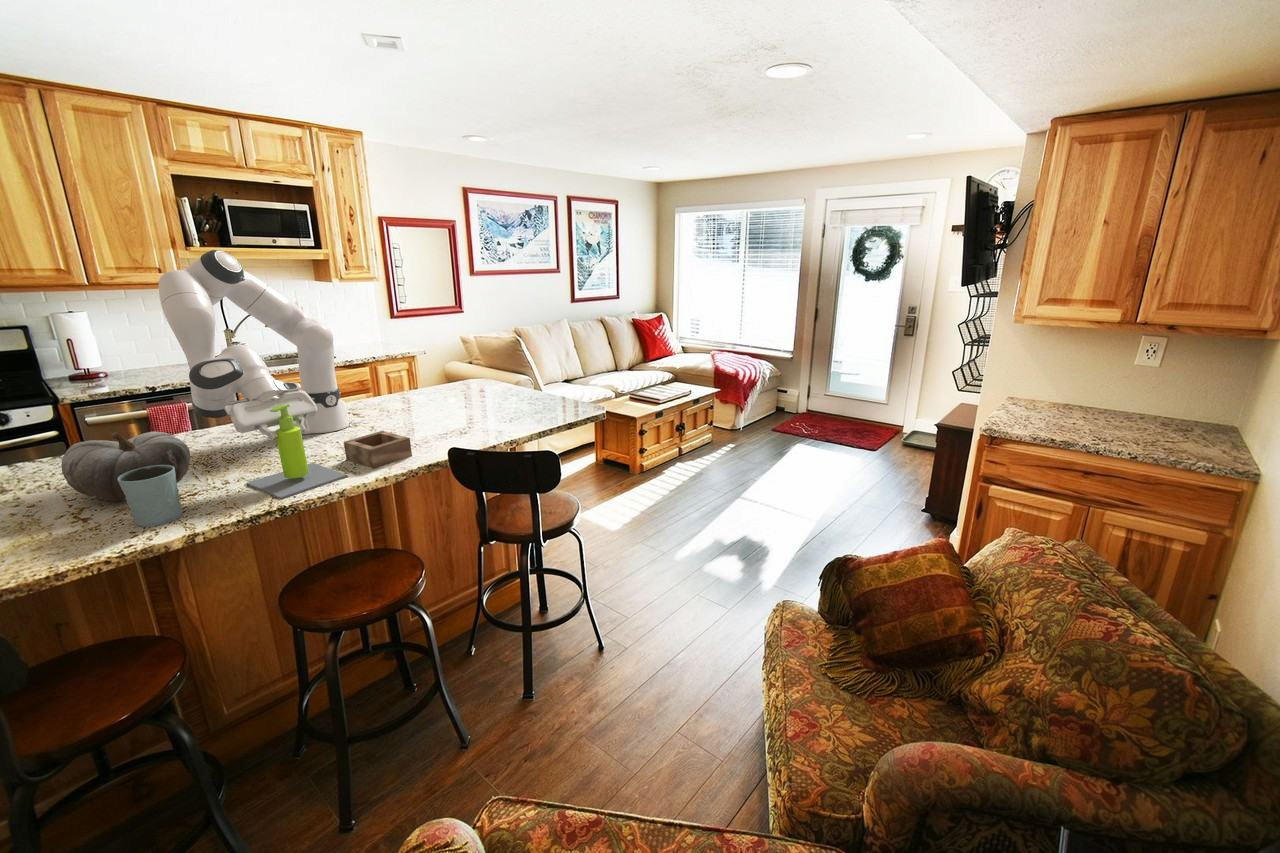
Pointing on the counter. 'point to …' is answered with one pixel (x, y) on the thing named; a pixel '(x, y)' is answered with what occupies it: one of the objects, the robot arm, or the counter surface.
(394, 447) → the box
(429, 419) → the counter surface
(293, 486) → the slate mat
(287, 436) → the soap dispenser
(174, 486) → the blue gray cup
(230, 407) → the robot arm
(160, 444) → the gourd
